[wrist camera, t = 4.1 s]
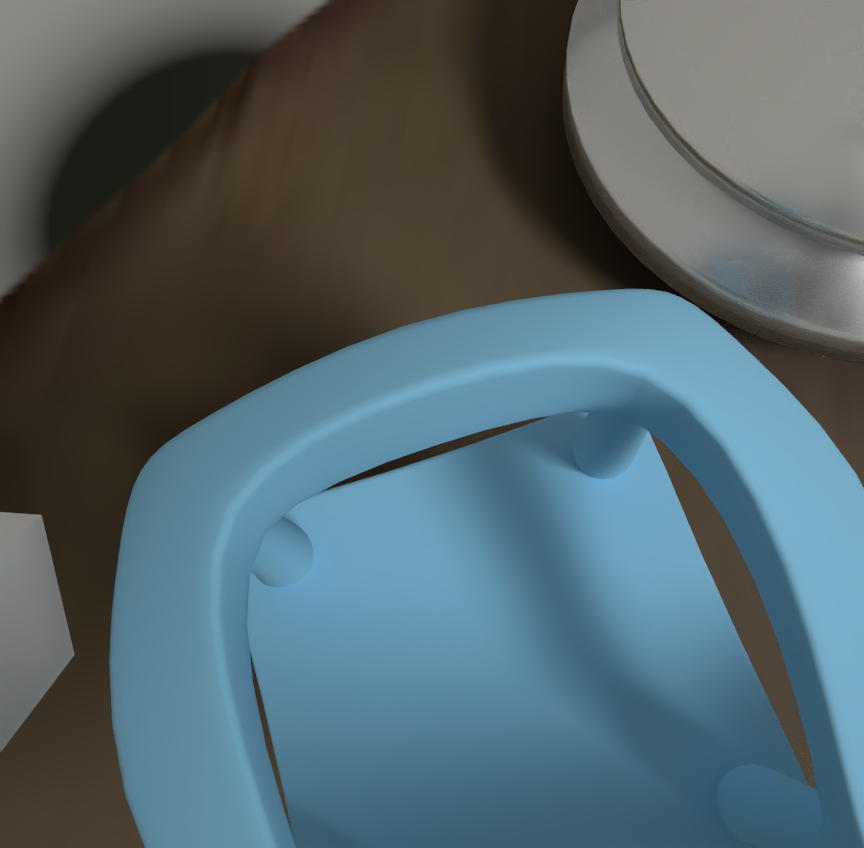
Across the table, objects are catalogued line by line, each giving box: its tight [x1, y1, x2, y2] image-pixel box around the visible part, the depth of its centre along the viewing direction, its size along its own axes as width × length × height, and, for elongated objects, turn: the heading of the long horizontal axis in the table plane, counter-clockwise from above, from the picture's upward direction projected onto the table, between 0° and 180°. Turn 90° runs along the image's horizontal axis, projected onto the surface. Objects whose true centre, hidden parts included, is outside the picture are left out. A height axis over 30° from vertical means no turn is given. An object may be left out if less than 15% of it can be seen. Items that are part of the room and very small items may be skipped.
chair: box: [109, 289, 864, 848], centre depth 11 cm, size 8×8×12 cm
